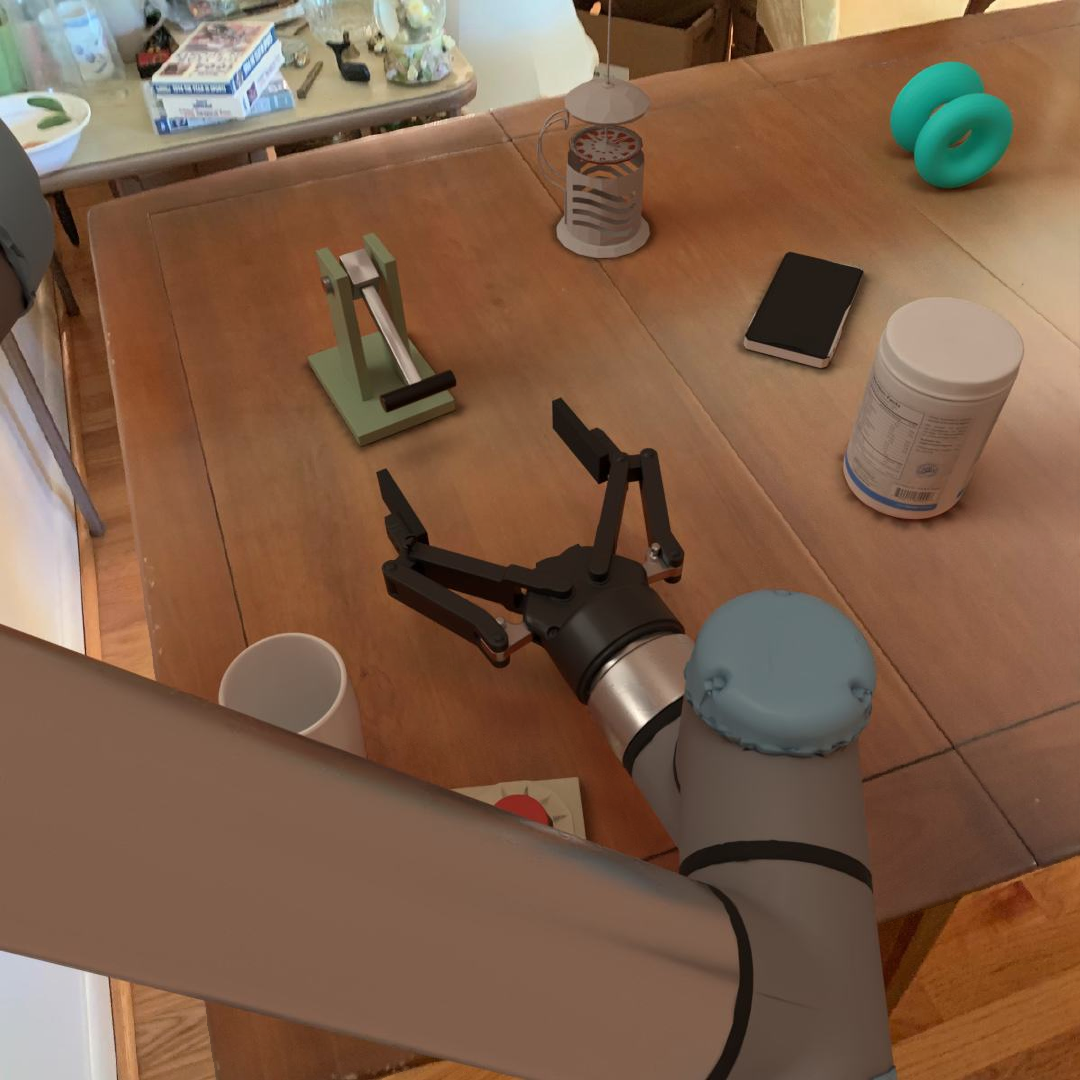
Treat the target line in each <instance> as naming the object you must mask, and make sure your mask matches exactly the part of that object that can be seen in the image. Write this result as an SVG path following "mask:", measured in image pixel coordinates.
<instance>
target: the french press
mask: <svg viewBox="0 0 1080 1080" xmlns="http://www.w3.org/2000/svg"><path fill="white" fill-rule="evenodd" d="M611 25H612V0H608V21H607V51H606V52H607V54H606V55H607V57H606V77H605V78H604V77H603V78H596V79H592V80H589V81H585V82H582V83H580V84H579V85H577V86H575V87H574V88H572V89H571V90H569V92H568V93H567V94H566V95H565V96H564V99H563V100H564V108H561V109H558V110H557V111H554V112H552V113H551V114H550V115H549V116H548V117H547V118H546V119H545V121H544V122H543V125H542V126H541V127H540V132H539V135H538V138H537V141H536V145H535V149H536V159H537V163H538V167H539V169H540V171H541V173H542V175H543V176H544V178H546V179H547V181H549V183H551V184H552V185H554V186H556V187H558V188H560V189H561V190H562V191H563V213H564V214H563V216H562V217H561V219H560V221H559V222H558V224H557V225H556V239H558V240H559V242H560V243H561V244H562V245H563V246H564V248H566V249H568V250H570V251H571V252H573V253H576V254H577V255H580V256H584V257H590V258H594V259H604V258H605V259H606V258H609V259H610V258H611V259H612V258H618V257H621V256H625V255H628V254H629V255H630V254H633V253H634V252H635V251H637V250H638V249H640V248H641V247H643V246H644V245H645V244H646V242H647V241H648V239H649V237H650V236H651V231H650V227H649V222H648V221H646V219H645V218H644V217H643V216H642V207H643V192H644V191H643V189H644V176H645V154H644V151H643V150H642V148H643V147H644V143H643V138H642V137H641V136H640V135H639V134H638V133H637V132H636V131H635V130H633V129H630V128H628V127H626V126H623V125H627V124H633V123H634V122H636V121H638V120H640V119H641V118H643V117H644V115H645V114H646V113H647V111H648V110H649V108H650V107H651V99H650V96H649V95H648V93H646V92H645V91H644V89H642V88H641V87H639V86H637V85H636V84H634V83H631V82H628V81H626V80H623V79H620V78H615V77H614V78H612V77H611V78H610V62H611V61H610V59H611V58H610V57H611V55H610V54H611V30H612V29H611V27H612V26H611ZM562 112H565V114H566V115H565V116H566V118H565V117H563V116H559V117H557V118H555V119H553V118H554V117H555V116H556V115H558V114H561V113H562ZM570 116H571V117H573V118H574V119H576V120H577V121H580V122H582V123H585V124H588V125H589V126H586V127H585V126H583V128H581V129H579V130H577V131H576V132H574V133H573V134H572V136H571V137H570V138H569V140H568V146H569V150H568V151H567V157H565V159H566V161H565V162H566V167H565V168H566V177H565V176H563V175H561V174H560V173H558V172H556V171H555V170H554V169H553V168H552V167H551V166H550V165H549V164H548V162H547V159H546V157H545V154H544V151H543V149H544V148H543V135H544V133H546V131H547V130H548V128H549V127H551V125H552V124H554V123H556V122H559V121H562V122H563V130H564V131H567V130H568V128H569V125H570ZM550 120H551V121H550ZM540 156H541V159H540ZM541 160H542V161H543V163H544V166H545V167H546V168H547V170H549V171H550V172H551V173H552V174H553V175H555V176H556V177H558V178H560V179H562V180H563V181H564V182H565V183H566V184H565V185H566V188H565V187H564V186H562V185H560V184H559V183H557V182H556V181H554V180H552V178H550V176H548V175H547V174H546V172H545V170H544V168H543V166H542V162H541ZM626 162H629V163H630V164H632V165H633V166H634V167H635V168H637V169H636V170H633V169H632V168H631V167H629V166H628V165H627V164H625V163H626ZM587 164H593V166H590V167H588V168H586V169H585V170H583V171H582V172H581V170H582V169H583V168H584V167H585V166H586V165H587ZM612 165H616V166H618V167H619V168H620V169H621V170H622V171H624V172H625V173H627V174H626V175H624V174H622V173H621V172H620V171H618V170H617V169H616V168H614V167H613V166H612ZM598 171H600V172H606V173H610V174H611V175H613V176H615V177H610V176H605V175H596V176H593V177H592V176H588V175H592V174H593V173H596V172H598ZM587 187H588V188H589V187H590V188H591V189H588V190H586V191H583V190H584V189H586V188H587ZM634 192H635V194H633V193H634ZM624 197H628V198H629V199H630V200H626V199H625V198H624ZM633 204H634V205H633Z"/></svg>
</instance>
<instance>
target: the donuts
mask: <svg viewBox="0 0 1080 1080" xmlns="http://www.w3.org/2000/svg"><path fill="white" fill-rule="evenodd" d="M985 92H986V91H985V85H984V82H983V79H982V77H981V75H980V74H979V72H978V71H976V69H975V68H973V67H972V66H971V65H969V64H966V63H965V62H964V63H963V62H961V61H944V62H939V63H936V64H932V65H930V66H928V67H926V68H924V69H923V70H921V71H920V72H918V73H917V74H915V75H914V76H913V77H912V78H911V79H910V80H909V81H907V82H906V84H905V85H904V86H903V87H902V89H901V90H900V92H899V93H898V94H897V96H896V99H894V102H893V104H892V105H893V106H892V108H891V113H890V116H889V117H890V118H889V123H890V124H889V126H890V132H891V135H892V138H893V139H894V141H895V142H896V144H897V145H898V146H899V147H900V148H901V149H903V150H905V151H906V152H908V153H911V154H913V161H914V165H915V168H916V171H917V173H918V174H919V176H920V177H921V178H922V179H923V180H924V182H926V183H928V184H929V185H931V186H933V187H936V188H942V189H955V188H961V187H963V186H966V185H969V184H972V183H974V182H975V181H977V180H979V179H980V178H982V177H983V176H985V175H986V174H988V173H989V172H990V171H991V170H992V169H993V168H994V167H995V166H997V164H998V163H999V162H1000V161H1001V159H1002V158H1003V156H1004V155H1005V153H1006V152H1007V150H1008V148H1009V146H1010V144H1011V140H1012V138H1013V132H1014V119H1013V115H1012V113H1011V110H1010V108H1009V106H1008V105H1007V104H1006V103H1005V102H1004V101H1003V100H1002V99H1001V98H999V97H997V96H995V95H992V94H990V93H985ZM940 106H941V107H940ZM937 109H938V110H937ZM969 132H970V133H969ZM967 134H969V135H968V137H967V138H966V139H965V140H964V141H963V142H961V143H960V144H959V145H957V146H954V145H956V144H957V143H958V142H960V141H961V140H963V138H964V137H965V136H967ZM953 146H954V147H953Z"/></svg>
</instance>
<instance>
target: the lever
mask: <svg viewBox="0 0 1080 1080" xmlns="http://www.w3.org/2000/svg"><path fill="white" fill-rule="evenodd" d="M338 259H339V261H338V263H339V264H340V265H341V267H342V268H343V269H344V271H345V272H346V273H347V275H348V278H349V282H350V287H351V292H352V297H353V301H357V300H360V299H362V301H363V302H364V304H365V306H366V308H367V310H368V313H369V314H370V316H371V319H372V321H373V322H374V324H375V327H376V328H377V330H378V331H379V332H380V334H381V336H382V338H383V340H384V342H385V344H386V346H387V348H388V350H389V352H390V354H391V356H392V358H393V360H394V362H395V364H396V366H397V368H398V370H399V372H400V374H401V376H402V378H403V380H404V382H405V384H406V386H404V387H401V388H398V389H396V390H393V391H390V392H388V393H385V394H382V395H380V396H379V398H380V403H381V405H382V408H383V409H384V411H385V412H386V413H389V412H391V411H394V410H396V409H399V408H402V407H404V406H407V405H409V404H412V403H415V402H417V401H420V400H422V399H425V398H428V397H430V396H433V395H435V394H438V393H441V392H443V391H446V390H448V391H449V390H451V389H454V388H456V387H457V385H458V384H457V378H456V375H455V374H454V371H452V369H450V368H449V369H446V370H443V371H441V372H438V373H435V375H433V376H430V377H427V378H425V379H421V377H420V375H419V373H418V371H417V369H416V367H415V365H414V363H413V361H412V359H411V357H410V355H409V353H408V351H407V350H406V348H405V346H404V344H403V342H402V340H401V338H400V336H399V334H398V332H397V330H396V328H395V326H394V324H393V322H392V320H391V318H390V316H389V314H388V312H387V310H386V308H385V306H384V304H383V302H382V300H381V298H380V297H379V295H378V292H379V274H378V272H377V270H376V268H375V266H374V265H373V263H372V261H371V259H370V257H369V255H368V253H367V251H366V249H365V247H363V248H359V249H356V250H354V251H353V250H352V251H351V252H347V253H344V254H341V255H339V257H338Z"/></svg>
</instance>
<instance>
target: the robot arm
mask: <svg viewBox="0 0 1080 1080" xmlns="http://www.w3.org/2000/svg"><path fill="white" fill-rule="evenodd" d="M55 231H56V230H55V221H54V215H53V211H52V209H51V205H50V203H49V201H48V200H47V199H46V198H45V196H44V193H43V190H42V187H41V181H40V176H39V173H38V171H37V169H36V167H35V165H34V163H33V162H32V160H31V158H30V157H29V155H28V154H27V152H26V150H25V149H24V147H23V146H22V144H21V143H20V141H19V140H18V138H17V137H16V135H15V134H14V133H13V131H12V130H11V129H10V128H9V127H8V125H7V124H6V122H5V121H4V120H3V119H2V118H1V117H0V345H1V344H2V342H3V341H4V339H6V337H7V335H8V334H9V333H10V332H11V330H12V328H13V327H14V326H15V325H16V323H17V322H18V320H19V319H21V318H22V317H24V316H26V315H27V314H28V313H29V312H30V311H31V310H32V308H33V307H34V303H35V299H36V298H37V294H36V293H37V291H38V289H39V287H40V285H41V283H42V281H43V279H44V277H45V275H46V274H47V271H48V269H49V267H50V265H51V263H52V259H53V256H54V250H55V244H56V243H55V240H56V232H55ZM551 419H552V420H551V421H552V422H551V423H552V424H551V426H552V430H553V431H554V432H555V433H556V435H557V436H558V437H559V438H560V439H561V440H562V442H563V443H564V444H565V445H566V447H567V448H568V449H569V451H570V452H572V454H573V455H574V456H575V458H576V459H577V460H578V461H579V462H580V464H581V465H582V466H583V467H584V468H585V470H586V471H587V472H588V474H589V475H590V476H591V477H592V479H593V480H594V481H595V482H596V483H597V485H601V484H603V483H606V488H605V492H604V496H603V501H602V507H601V512H600V517H599V521H598V524H597V527H596V532H595V537H594V541H593V546H591V545H580V543H576V544H574V545H572V546H569V547H568V548H566V549H565V550H564V551H562V552H561V553H560V554H558V555H553V556H550V557H545V558H543V559H540V560H539V561H537V562H535V567H534V568H529V567H525V566H522V565H519V564H513V563H512V564H509V565H507V566H505V565H502V564H497V563H494V562H490V561H486V560H482V559H480V558H476V557H472V556H469V555H466V554H462V553H459V552H456V551H451V550H448V549H445V548H441V547H437V546H434V545H430V540H429V534H428V531H427V529H426V527H425V526H424V524H423V523H422V522H421V520H420V518H419V517H418V515H417V514H416V512H415V510H414V509H413V508H412V505H411V504H410V503H409V501H408V499H407V498H406V497H405V495H404V494H403V492H402V490H401V489H400V487H399V485H398V484H397V482H396V481H395V479H394V478H393V476H392V475H391V473H390V471H389V470H388V468H387V467H385V468H382V469H380V470H378V471H376V472H375V473H376V478H377V483H378V487H379V491H380V495H381V499H382V501H383V503H384V504H385V506H386V507H387V509H388V511H389V512H390V514H388V515H385V516H384V526H385V530H386V534H387V538H388V540H389V541H390V543H391V544H392V546H393V548H394V549H395V551H396V553H397V555H398V556H397V557H396V558H394V559H389V560H386V561H385V562H383V564H382V565H381V572H382V577H383V580H384V584H385V588H386V592H387V595H388V596H389V597H391V598H393V599H394V600H396V601H398V602H399V603H401V604H403V605H405V606H406V607H408V608H410V609H411V610H413V611H415V612H416V613H418V614H420V615H422V616H424V617H426V618H427V619H429V620H431V621H432V622H433V623H435V624H437V625H439V626H441V627H442V628H445V629H446V630H447V631H450V633H453V634H455V635H456V636H458V637H460V638H462V639H463V640H466V641H467V642H468V643H470V644H472V645H474V646H475V647H477V648H478V650H479V651H480V652H481V654H483V656H484V657H485V658H486V659H487V661H488V662H489V663H490V664H491V666H492V667H494V668H496V669H505V668H507V667H508V666H509V665H510V662H511V655H512V654H514V653H516V652H517V651H519V650H520V649H521V648H523V647H525V646H526V645H529V644H530V643H534V644H536V645H537V646H539V647H540V648H542V649H543V650H544V651H545V652H546V654H547V655H548V656H549V658H550V660H551V661H552V663H553V665H554V666H555V667H556V669H557V671H558V672H559V674H560V675H561V677H562V678H563V679H564V681H565V682H566V684H567V685H568V686H569V688H570V690H571V691H572V692H573V694H574V695H575V697H576V699H577V700H578V701H579V703H580V704H581V705H583V706H586V707H587V714H588V716H589V717H590V719H591V720H592V722H593V723H594V725H595V726H596V728H597V730H598V731H599V732H600V734H601V735H602V737H603V738H604V740H605V742H606V743H607V745H608V746H609V747H610V749H611V751H612V752H613V754H614V755H615V757H616V758H617V760H618V761H619V763H620V765H622V767H623V768H624V769H625V770H626V772H627V774H628V775H629V777H630V778H631V780H632V782H634V784H635V785H636V787H637V788H638V790H639V791H640V793H641V795H642V797H644V799H645V801H646V803H647V804H648V806H649V807H650V808H651V810H652V811H653V813H654V814H655V816H656V817H657V820H659V822H660V824H661V825H662V826H663V828H664V829H665V831H666V833H667V834H668V836H669V837H670V839H671V840H672V842H673V843H674V845H675V846H676V848H677V849H678V851H679V867H678V873H677V872H675V871H671V870H670V869H667V868H664V867H661V866H658V865H657V864H654V863H651V862H647V861H645V860H642V859H641V858H637V857H634V856H631V855H630V854H626V853H624V852H620V851H618V850H615V849H614V848H610V847H607V846H604V845H602V844H599V843H596V842H594V841H591V840H588V839H587V838H586V839H583V838H580V837H578V836H575V835H572V834H569V833H567V832H564V831H561V830H559V829H556V828H553V827H551V826H548V825H545V824H542V823H540V822H537V821H534V820H532V819H529V818H526V817H523V816H521V815H518V814H515V813H513V812H510V811H507V810H504V809H502V808H499V807H496V806H494V805H491V804H488V803H485V802H483V801H480V800H477V799H475V798H472V797H469V796H466V795H464V794H461V793H458V792H456V791H453V790H450V789H451V788H448V787H445V786H442V785H439V784H437V783H434V782H431V781H429V780H426V779H423V778H420V777H418V776H415V775H412V774H409V773H407V772H404V771H401V770H398V769H396V768H393V767H391V766H387V765H385V764H382V763H379V762H377V761H375V760H371V759H369V758H368V759H366V758H363V757H361V756H358V755H355V754H353V753H350V752H347V751H344V750H342V749H339V748H336V747H334V746H331V745H328V744H325V743H323V742H320V741H317V740H315V739H312V738H309V737H307V736H304V735H301V734H298V733H296V732H293V731H290V730H288V729H285V728H282V727H279V726H277V725H274V724H271V723H269V722H266V721H263V720H260V719H258V718H255V717H252V716H250V715H247V714H244V713H241V712H239V711H236V710H233V709H231V708H228V707H225V706H222V705H220V704H219V703H217V702H214V701H212V700H209V699H206V698H203V697H201V696H197V695H195V694H192V693H189V692H187V691H185V690H181V689H180V688H176V687H174V686H172V685H171V686H170V685H168V684H165V683H162V682H160V681H157V680H155V679H152V678H149V677H147V676H144V675H141V674H138V673H135V672H133V671H130V670H127V669H125V668H122V667H119V666H117V665H114V664H111V663H108V662H106V661H103V660H100V659H98V658H96V657H92V656H90V655H87V654H84V653H82V652H78V651H76V650H74V649H70V648H68V647H65V646H62V645H59V644H57V643H55V642H51V641H49V640H46V639H43V638H41V637H38V636H35V635H32V634H30V633H27V632H25V631H21V630H19V629H16V628H14V627H12V626H8V625H5V624H3V623H0V951H1V952H3V953H9V954H13V955H16V956H20V957H25V958H29V959H32V960H37V961H41V962H46V963H49V964H54V965H58V966H62V967H65V968H70V969H73V970H78V971H82V972H85V973H90V974H93V975H94V974H95V975H98V976H102V977H106V978H110V979H114V980H119V981H123V982H126V983H129V984H135V985H138V986H143V987H148V988H151V989H155V990H159V991H162V992H167V993H171V994H175V995H179V996H184V997H187V998H191V999H194V1000H195V999H196V1000H199V1001H204V1002H208V1003H212V1004H217V1005H221V1006H224V1007H228V1008H232V1009H237V1010H241V1011H244V1012H248V1013H252V1014H257V1015H260V1016H265V1017H269V1018H273V1019H276V1020H282V1021H285V1022H289V1023H294V1024H297V1025H302V1026H306V1027H310V1028H313V1029H318V1030H322V1031H326V1032H329V1033H334V1034H339V1035H341V1036H346V1037H351V1038H355V1039H359V1040H362V1041H366V1042H371V1043H374V1044H378V1045H383V1046H387V1047H390V1048H395V1049H399V1050H403V1051H407V1052H410V1053H411V1052H412V1053H416V1054H419V1055H424V1056H427V1057H431V1058H436V1059H440V1060H444V1061H447V1062H452V1063H457V1064H460V1065H464V1066H468V1067H472V1068H476V1069H480V1070H483V1071H484V1070H485V1071H489V1072H492V1073H496V1074H501V1075H505V1076H509V1077H512V1078H517V1079H520V1080H899V1078H898V1073H897V1072H898V1071H897V1065H895V1063H894V1056H893V1055H894V1054H893V1048H892V1038H891V1030H890V1022H889V1021H890V1020H889V1013H888V1006H887V998H886V990H885V989H886V988H885V980H884V973H883V971H884V970H883V964H882V955H881V949H880V940H879V939H880V938H879V930H878V921H877V914H876V906H875V899H874V886H873V875H872V874H873V873H872V862H871V854H870V845H869V835H868V823H867V815H866V806H865V805H866V804H865V794H864V786H863V776H862V767H861V757H860V747H859V743H860V734H861V733H862V732H863V731H864V730H865V729H866V728H867V726H868V724H869V722H870V716H871V715H872V713H873V699H874V694H875V691H876V687H877V681H878V675H877V674H878V673H877V664H876V660H875V657H874V653H873V650H872V648H871V646H870V644H869V641H868V639H867V638H866V637H865V634H864V633H863V632H862V631H861V629H860V628H859V627H858V625H857V624H856V623H855V622H854V621H853V620H852V619H851V618H850V617H849V616H847V615H846V614H845V613H844V612H843V611H842V610H840V609H838V608H837V607H836V606H834V605H833V604H831V603H830V602H828V601H825V600H823V599H822V598H819V597H816V596H814V595H811V594H809V593H805V592H802V591H801V592H800V591H796V590H786V589H782V588H781V589H759V590H753V591H750V592H746V593H743V594H742V593H741V594H739V595H737V596H736V597H733V598H731V599H729V600H727V601H726V602H724V603H722V604H721V605H720V606H718V607H717V608H716V609H715V610H714V611H712V613H711V614H710V615H709V616H708V617H707V619H706V620H704V623H703V624H702V626H701V627H700V629H699V631H698V634H697V636H696V639H695V638H694V637H693V636H691V635H689V634H686V630H685V627H684V625H683V624H682V622H681V621H680V619H679V618H678V617H677V616H676V615H675V613H674V612H673V611H672V609H670V607H669V606H668V605H667V603H666V602H665V601H664V600H663V598H662V597H661V596H660V594H659V593H658V592H657V591H656V590H655V589H654V588H653V587H651V586H650V585H651V584H654V583H657V582H660V581H662V580H663V581H664V582H665V583H667V584H669V585H670V584H671V585H675V584H678V583H680V581H681V579H682V574H683V571H684V570H683V569H684V560H685V555H686V554H685V553H686V552H685V550H684V548H683V546H682V545H681V544H680V543H679V541H678V540H677V538H676V537H675V535H674V534H673V532H672V529H671V523H670V517H669V512H668V511H669V510H668V506H667V505H668V504H667V500H666V499H667V498H666V494H665V493H666V492H665V488H664V482H663V477H662V470H661V466H660V465H661V464H660V458H659V454H658V451H657V450H656V449H654V448H652V447H645V448H642V449H641V450H640V452H639V453H638V454H629V453H628V452H625V451H621V449H620V448H619V447H618V445H616V444H615V442H614V441H613V440H612V439H611V438H610V437H609V435H608V434H607V433H606V431H604V430H603V429H601V428H599V427H595V428H594V427H593V428H591V429H590V430H589V428H588V427H587V426H586V424H585V423H584V422H583V421H582V419H580V417H578V415H577V414H576V413H575V411H574V410H573V409H572V408H571V407H570V406H569V405H568V404H567V402H566V401H565V400H564V399H563V398H562V397H557V398H556V399H553V400H551ZM635 482H638V487H639V493H640V501H641V506H642V512H643V521H644V526H645V527H644V528H645V534H646V540H647V546H648V548H647V549H646V550H645V557H644V558H645V559H644V563H640V562H639V561H637V560H634V559H630V558H628V557H625V556H622V555H619V554H617V547H618V542H619V537H620V532H621V527H622V526H621V525H622V521H623V516H624V510H625V505H626V499H627V493H628V491H629V484H630V483H635ZM522 589H524V590H526V593H524V592H523V591H522ZM456 592H458V593H460V594H464V595H467V596H471V597H475V598H478V599H482V600H485V601H489V602H491V603H496V604H498V605H501V606H502V607H504V609H505V610H507V611H508V612H511V613H515V614H517V615H521V616H522V621H521V622H519V623H512V622H511V621H509V620H507V619H506V618H505V617H504V616H499V615H498V616H496V617H493V615H492V614H491V613H490V612H488V611H487V610H486V609H484V608H483V607H481V606H479V605H478V604H476V603H474V602H472V601H470V600H469V599H467V598H465V597H463V596H461V595H459V594H458V593H456Z"/></svg>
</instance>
